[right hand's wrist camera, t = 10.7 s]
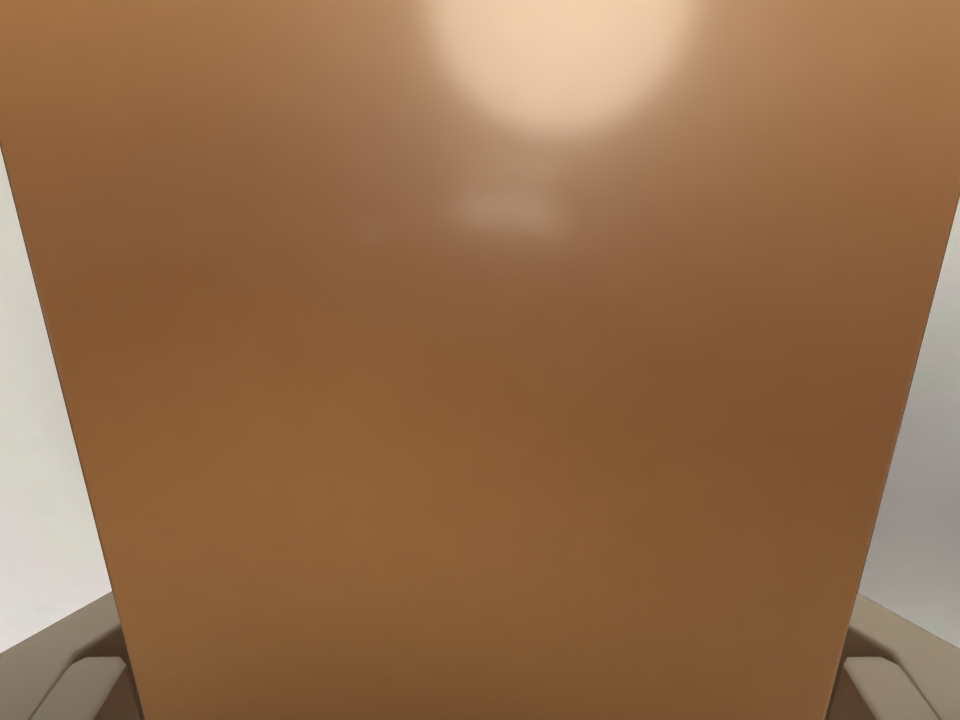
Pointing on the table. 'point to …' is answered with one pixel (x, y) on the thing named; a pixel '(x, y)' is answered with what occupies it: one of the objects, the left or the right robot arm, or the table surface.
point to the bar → (484, 337)
